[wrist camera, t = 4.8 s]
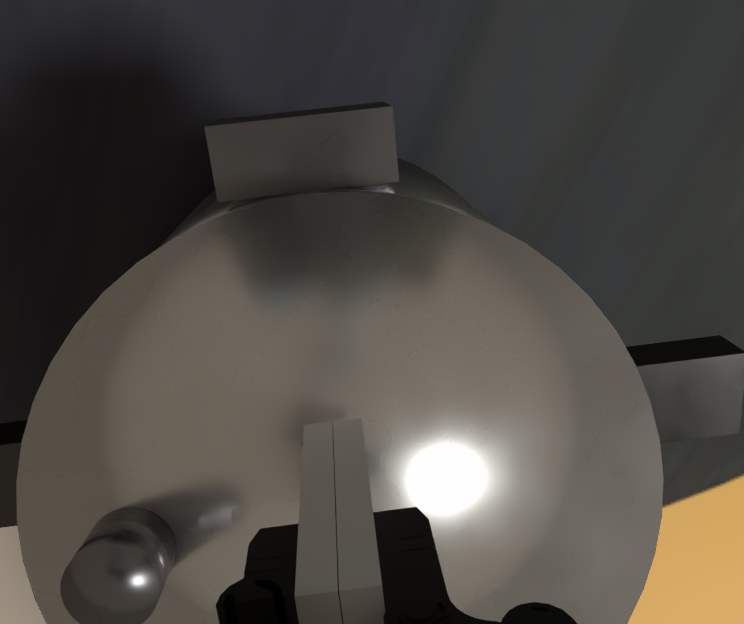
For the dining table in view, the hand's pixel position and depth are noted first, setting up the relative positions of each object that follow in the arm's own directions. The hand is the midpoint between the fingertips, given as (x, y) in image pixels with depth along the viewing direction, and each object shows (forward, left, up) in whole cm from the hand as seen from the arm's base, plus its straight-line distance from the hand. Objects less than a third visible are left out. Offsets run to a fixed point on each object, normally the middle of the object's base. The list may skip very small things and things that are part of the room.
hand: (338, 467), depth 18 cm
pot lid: (+4, 0, -1) cm, 4 cm away
